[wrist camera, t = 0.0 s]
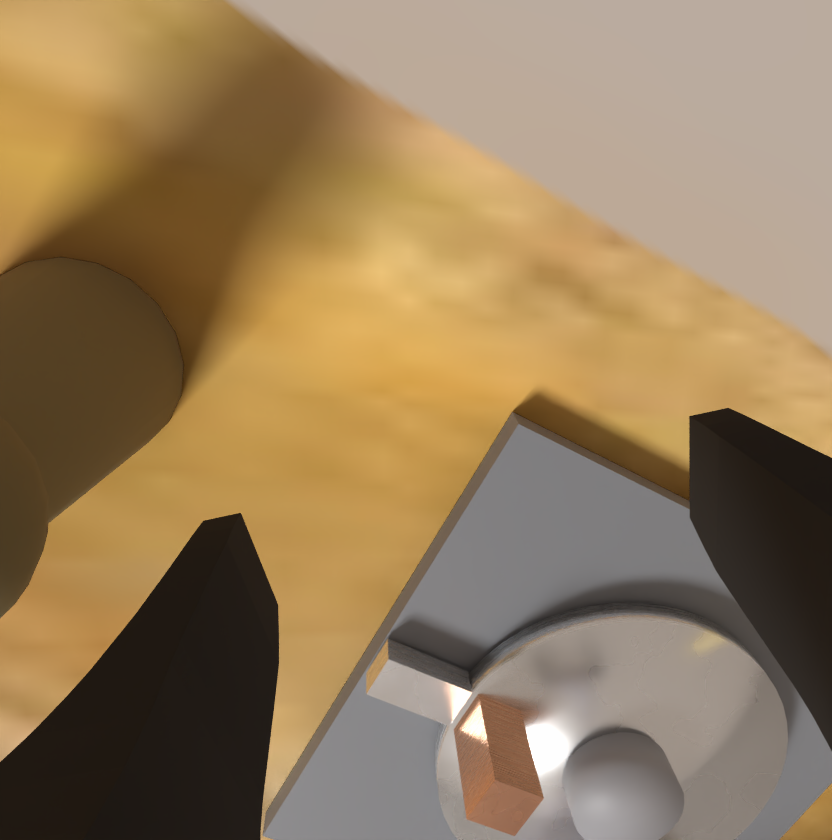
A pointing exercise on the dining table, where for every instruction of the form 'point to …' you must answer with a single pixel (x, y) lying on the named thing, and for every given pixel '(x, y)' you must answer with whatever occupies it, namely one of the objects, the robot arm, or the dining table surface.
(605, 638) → the flange plate
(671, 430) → the dining table surface
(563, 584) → the turntable base
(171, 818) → the robot arm
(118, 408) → the cork
